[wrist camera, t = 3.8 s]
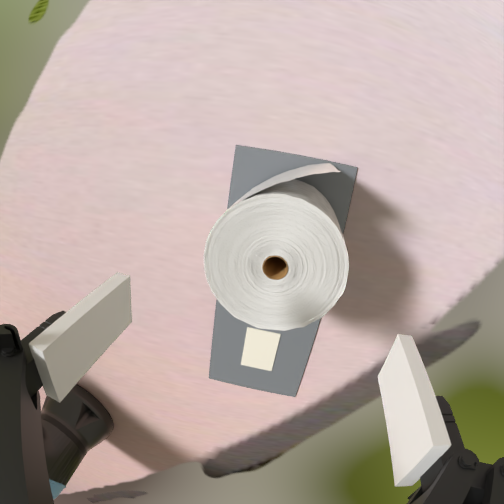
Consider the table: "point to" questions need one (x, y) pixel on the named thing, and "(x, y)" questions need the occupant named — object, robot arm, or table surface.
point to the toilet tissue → (278, 253)
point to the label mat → (265, 340)
